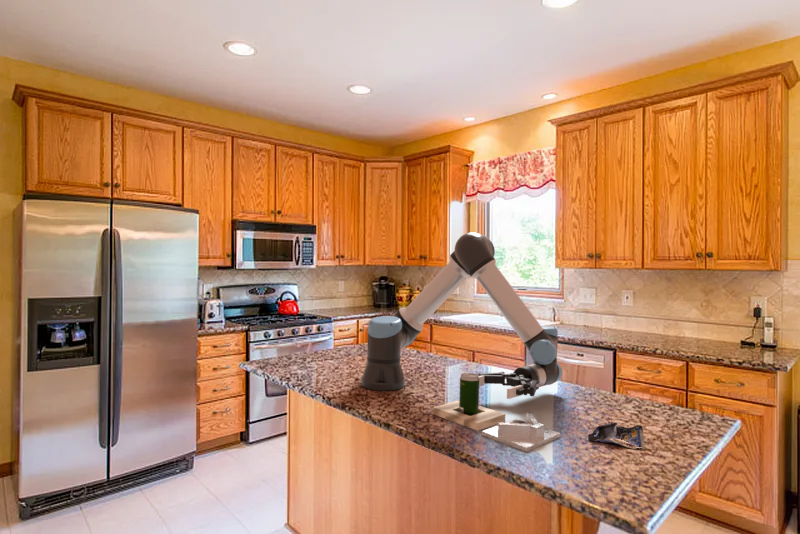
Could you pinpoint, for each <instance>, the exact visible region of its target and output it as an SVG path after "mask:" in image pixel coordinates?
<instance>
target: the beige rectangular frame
mask: <svg viewBox="0 0 800 534" xmlns="http://www.w3.org/2000/svg"><path fill="white" fill-rule="evenodd" d="M432 415H433V416H436V417H440V418H442V419H445V420H447V421H450V422H453V423H456V424H458V425H460V426H464V427H466V428H469V429H472V430H474V431H477V432H478V431H482V430H483V429H484V430H485V429H486V428H487V429H488V428H491V427H492V426H493V427H494V426H497V425H498V423H505V422H506V413H503V412H501V411H497V410H494V409H491V408H488V407H486V406H481V405H479V408H478V414H475V415H472V416H469V415H466V414H463V413H460V412H459V400H455V401H452V402H451V401H450V402H448V403H444V404H440V405H436V406H433V409H432Z"/></svg>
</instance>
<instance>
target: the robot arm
mask: <svg viewBox="0 0 800 534" xmlns="http://www.w3.org/2000/svg"><path fill="white" fill-rule="evenodd" d="M495 251H496V250H495V245H494V244H493V242H492V241H491V239H490V238H488V236H486V235H483V234H480V233H477V232H467V233H464V234H462V235H461V236H460V237H459V238H458V239H457V241H456V242H455V245H454V251H453V252H452V253H450V255H449V262H448V263H447V264H446V265H445V266H444V267H443V268H442V269H441V270H440V272H438V273H437V274H436V275H435V277H434V278H432V280H431V281H430V282H429V283H428V284H427V285H426V286H425V288H423V290H421V292H420V293H418V295H417V296H415V297H414V298H413V300H412V301H411V302H410V303H409V304H408V305H407V306H406V307H400V308H399V309H398V310H396V312H395V313H394V314H392V315H380V316H376V317H375V316H374V317H371V319H369V321H368V325H367V345H366V346H367V350H366V351H367V354H366V355H367V356H366V365H365V367H364V371H363V374H362V376H361V380H360V383H361V384H360V385H361V387H363V388H365V389H368V390H372V391H379V392H380V391H396V390H401V389H403V388H405V386H406V379H405V377H404V372H403V369H402V364H401V356H402V355H401V354H402V349H404V348H406V347H409V346H410V345H412V344H413V343H414V341H416V338H417V336H419V334H420V333H421V332H422V331H424V330H423V329H424V323H425V322H427V320H428V319H429V318H430V317H431V316H432V315H433V314H434V313H435V312H436V311H437V310H438V309H439V308H440V307H441V306H442V305H443V303H445V302H446V301H447V300H448V299H449V297H451V295H453V293H454V292H455V291H456V290H457V289H458V288H459V287H460V286H461V285H462V284H463V283H464V282H465V281H466V280H467V279H470V278H472V279H476V280H477V282H478V283H479V285H480V286H481V287H482V289H483V290H484V291H485V293H486V294H487V295H488V297H489V298H490V299H491V301H492V302H493V304H494V305H495V306H496V307H497V309H498V310H499V311H500V313H501V314H502V315H503V317H504V319H505V320H506V321H507V323H508V324H509V325H510V326H511V328H512V329H513V331H514V332H515V333H516V334H517V336H518V337H519V339H520V340H521V341H522V343H523V344H524V346H525V347H526V348H527V350H528V351H529V354H530V357H531V359H532V360H533V363H532V364H527V365H524V366H521V367H517V368H516V369H514V371H513V372H511V373H505V372H504V371H501V372H483V373H482V372H481V373H480V372H478V373H476V374H478V375H479V387H483V386H484V385H485V384H487V385H488V384H493V385H495V384H499V385H502V386H508V388H506V399H509V400H510V399H513V398H517V397H520V396H528V395H529V396H530V397H535V394H536V391H537V390H539V389H540V388H541V387H545V386H550V385H553V384H554V383H556V382H558V381H560V379H562V375H563V370H562V367H561V365H560V364H559V363H558V359H557V358H558V343H559V341H558V339H559V336H558V335H559V334H558V329H557V328H556V327H553V326H547V325H541V324H540V322H539V321H538V320H537V319H536V318H535V316H534V315H533V313H532V311H530V309H529V308H528V307H527V306H526V304H525V303H524V301H523V300H522V298H521V297H520V296H519V294H518V293H517V292H516V291H515V289H514V288H513V286H512V285H511V284H510V282H509V281H508V280H507V279H506V277H505V276H504V274H503V273H502V272H501V270H500V269H499V268H498V267H497V265H496V262H497V260H496V258H495V254H496V253H495Z"/></svg>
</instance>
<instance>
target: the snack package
mask: <svg viewBox="0 0 800 534" xmlns="http://www.w3.org/2000/svg"><path fill="white" fill-rule="evenodd" d="M618 423H620V422H618ZM618 423H617V422H611V423H604V424H602V425H599V426H597V427H595V428H594V430H593V432H591V433H589V434H588V435H587V439H588V441H589V440H590V441H589V442H597V441H600V442H599V443H607V444H608V443H612V444H616V445H619V446H622V445H623V443H621V442H617V441H612V440H610V439H611V438H612V439H621V440H624V441H626V442H628V443H630V444H632V445H635V446H636V447H642V448H641V449H640V450H642V449H644V447H645V436H644V428H643V425H641V424H640V425H639V424H637V425H634V426H631V427H625V426H626V424H625V423H623V425H625V426H621V425H617V424H618ZM594 435H595V436H594ZM624 447H625V448H628V449H630V446H629V447H628V446H625V445H624Z"/></svg>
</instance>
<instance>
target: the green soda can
mask: <svg viewBox="0 0 800 534" xmlns="http://www.w3.org/2000/svg"><path fill="white" fill-rule="evenodd" d="M479 397H480V386H479V375H478V374H477V373H473V372H464V373H461V374H460V378H459V412H460V413H463V414H466V415H469V416H472V415H475V414H478V408H479V406H480V404H479V403H480V401H479V400H480V398H479Z"/></svg>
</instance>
